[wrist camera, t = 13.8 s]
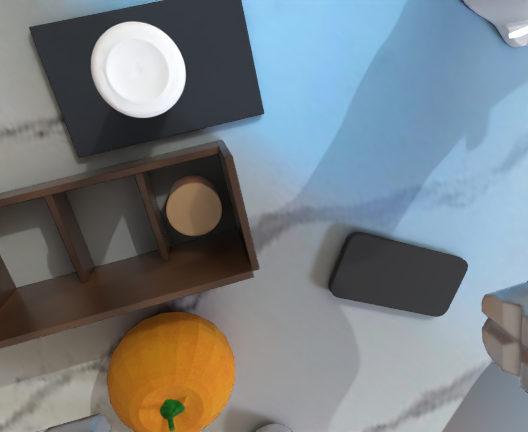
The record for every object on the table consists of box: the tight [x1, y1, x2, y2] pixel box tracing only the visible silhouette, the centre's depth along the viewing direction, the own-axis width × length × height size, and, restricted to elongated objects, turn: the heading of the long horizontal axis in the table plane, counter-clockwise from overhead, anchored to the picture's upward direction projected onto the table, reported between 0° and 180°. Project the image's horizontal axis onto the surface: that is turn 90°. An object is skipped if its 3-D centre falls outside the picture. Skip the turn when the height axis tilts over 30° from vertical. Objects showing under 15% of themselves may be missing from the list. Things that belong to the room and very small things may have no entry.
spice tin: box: [166, 175, 222, 236], centre depth 35 cm, size 5×5×4 cm
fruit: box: [107, 312, 235, 432], centre depth 36 cm, size 12×12×10 cm
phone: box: [329, 232, 468, 316], centre depth 43 cm, size 7×1×15 cm
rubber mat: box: [29, 0, 264, 158], centre depth 32 cm, size 16×10×1 cm, turn 102°
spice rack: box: [0, 140, 259, 348], centre depth 31 cm, size 22×9×9 cm, turn 102°
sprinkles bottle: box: [91, 22, 186, 118], centre depth 26 cm, size 5×5×13 cm
